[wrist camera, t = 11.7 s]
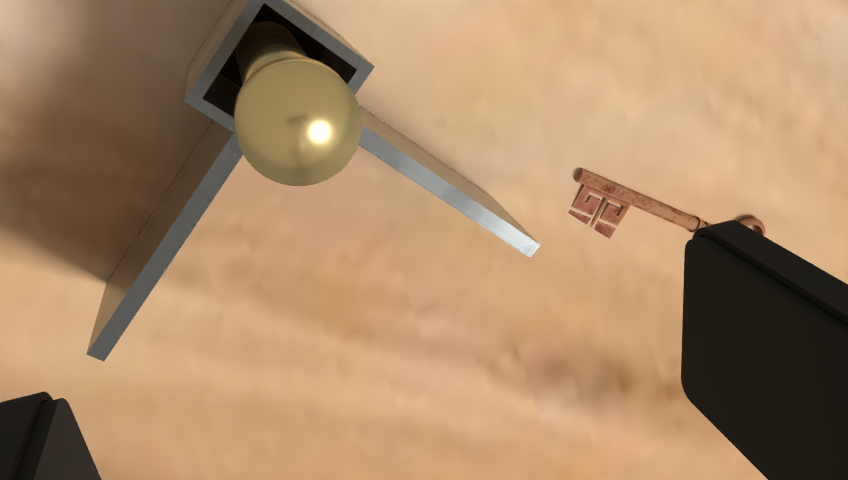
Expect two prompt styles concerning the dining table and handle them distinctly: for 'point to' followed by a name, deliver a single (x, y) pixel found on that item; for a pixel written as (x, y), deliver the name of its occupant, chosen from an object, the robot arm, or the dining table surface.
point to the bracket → (224, 152)
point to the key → (626, 199)
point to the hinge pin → (292, 109)
